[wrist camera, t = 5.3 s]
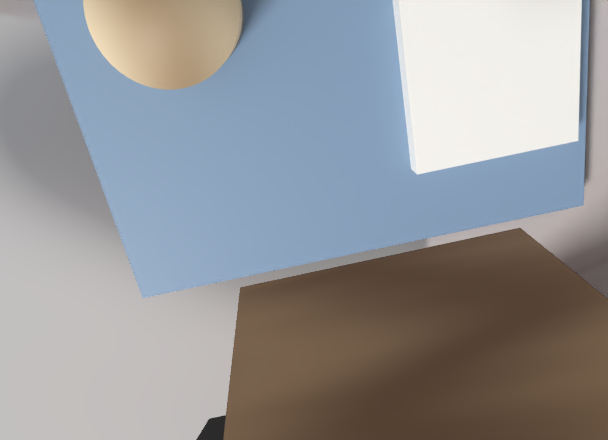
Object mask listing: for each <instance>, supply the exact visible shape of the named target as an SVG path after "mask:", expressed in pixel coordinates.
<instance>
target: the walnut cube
mask: <svg viewBox="0 0 608 440" xmlns="http://www.w3.org/2000/svg"><path fill="white" fill-rule="evenodd" d="M223 440H608V299H607V298H606V297H605V296H604V295H602V294H601V293H600V292H599V291H597V290H596V289H595V288H594V287H592V286H591V285H590V284H589V283H588V282H586V281H585V280H584V279H583V278H581V277H580V276H579V275H578V274H576V273H575V272H574V271H573V270H571V269H570V268H569V267H568V266H567V265H565V264H564V263H563V262H562V261H560V260H559V259H558V258H557V257H555V256H554V255H553V254H552V253H551V252H549V251H548V250H547V249H546V248H544V247H543V246H542V245H541V244H539V243H538V242H537V241H536V240H534V239H533V238H532V237H531V236H530V235H528V234H527V233H526V232H525V231H523V230H522V229H521V228H517V229H512V230H508V231H503V232H498V233H494V234H489V235H484V236H480V237H475V238H470V239H465V240H461V241H456V242H451V243H447V244H442V245H437V246H433V247H428V248H423V249H419V250H414V251H409V252H404V253H400V254H395V255H390V256H386V257H381V258H376V259H372V260H367V261H363V262H358V263H353V264H348V265H344V266H339V267H334V268H330V269H325V270H320V271H315V272H311V273H306V274H301V275H297V276H292V277H287V278H283V279H278V280H273V281H268V282H264V283H259V284H254V285H250V286H246V287H241V288H240V294H239V303H238V312H237V321H236V330H235V340H234V348H233V357H232V366H231V375H230V385H229V394H228V402H227V411H226V420H225V429H224V438H223Z"/></svg>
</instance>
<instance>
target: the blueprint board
mask: <svg viewBox="0 0 608 440" xmlns="http://www.w3.org/2000/svg"><path fill="white" fill-rule="evenodd" d="M33 1H34V3H35V6H36V9H37V12H38V14H39V17H40V20H41V22H42V25H43V28H44V31H45V33H46V36H47V39H48V42H49V44H50V47H51V50H52V52H53V55H54V58H55V61H56V63H57V66H58V69H59V71H60V74H61V77H62V80H63V82H64V85H65V88H66V90H67V93H68V96H69V99H70V101H71V104H72V107H73V110H74V112H75V115H76V118H77V120H78V123H79V126H80V129H81V131H82V134H83V137H84V139H85V142H86V145H87V148H88V150H89V153H90V156H91V158H92V161H93V164H94V167H95V169H96V171H97V175H98V178H99V180H100V183H101V186H102V188H103V191H104V194H105V196H106V199H107V202H108V205H109V207H110V210H111V213H112V215H113V218H114V221H115V224H116V227H117V229H118V232H119V234H120V237H121V240H122V243H123V245H124V248H125V251H126V254H127V256H128V259H129V262H130V264H131V267H132V270H133V273H134V275H135V278H136V281H137V284H138V286H139V289H140V292H141V295H142V297H143V298H146V297H150V296H155V295H160V294H165V293H169V292H174V291H178V290H184V289H188V288H193V287H198V286H202V285H207V284H212V283H217V282H221V281H226V280H231V279H236V278H241V277H245V276H250V275H255V274H259V273H264V272H269V271H274V270H278V269H283V268H287V267H293V266H298V265H302V264H306V263H312V262H317V261H321V260H326V259H331V258H335V257H340V256H345V255H350V254H355V253H359V252H363V251H368V250H373V249H378V248H383V247H388V246H392V245H397V244H402V243H407V242H411V241H416V240H420V239H426V238H430V237H435V236H440V235H445V234H449V233H454V232H459V231H464V230H468V229H473V228H478V227H483V226H487V225H492V224H497V223H502V222H506V221H511V220H516V219H521V218H525V217H530V216H535V215H540V214H544V213H549V212H554V211H559V210H563V209H568V208H573V207H578V206H582V205H583V204H584V172H585V139H586V106H587V74H588V41H589V9H590V0H242V4H243V10H244V23H243V30H242V35H241V38H240V40H239V43H238V45H237V47H236V49H235V50H234V52H233V53H232V54H231V56H230V57H229V58H228V59H227V60H226V61H225V63H224V64H223V65H222V66H221V67H220V68H219V69H218V70H217V71H216V72H215V73H214V74H213V75H211V76H210V77H209V78H207V79H206V80H204V81H202V82H200V83H198V84H196V85H194V86H190V87H187V88H182V89H175V90H164V89H157V88H152V87H148V86H145V85H142V84H140V83H137V82H135V81H133V80H131V79H130V78H128V77H126V76H125V75H123V74H122V73H121V72H119V71H118V70H117V69H116V68H115V67H113V66H112V65H111V64H110V63H109V62H108V60H107V59H106V58H105V57H104V56H103V54H102V53H101V52H100V50H99V49H98V47H97V46H96V44H95V42H94V40H93V38H92V36H91V34H90V31H89V29H88V26H87V22H86V18H85V14H84V7H83V0H33Z"/></svg>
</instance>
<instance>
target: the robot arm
mask: <svg viewBox="0 0 608 440" xmlns="http://www.w3.org/2000/svg"><path fill="white" fill-rule="evenodd" d="M225 420H226V416H220V417H216V418H211V419H209V420H208V422H207V424H206V425H205V427H204V428H203V430H202V432H201V433H200V435H199V437H198V438H197V440H223V438H224V429H225Z"/></svg>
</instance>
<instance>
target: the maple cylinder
mask: <svg viewBox="0 0 608 440" xmlns="http://www.w3.org/2000/svg"><path fill="white" fill-rule="evenodd" d="M83 7H84V14H85V18H86V22H87V26H88V29H89V31H90V34H91V36H92V38H93V40H94V42H95V44H96V46H97V47H98V49H99V50H100V52H101V53H102V54H103V56H104V57H105V58H106V59H107V60H108V62H109V63H110V64H111V65H112V66H113V67H115V68H116V69H117V70H118V71H119V72H121V73H122V74H123V75H125V76H126V77H128V78H130V79H131V80H133V81H135V82H137V83H140V84H142V85H145V86H148V87H152V88H157V89H164V90H175V89H182V88H187V87H190V86H194V85H196V84H198V83H200V82H202V81H204V80H206V79H207V78H209V77H210V76H211V75H213V74H214V73H215V72H216V71H217V70H218V69H219V68H220V67H221V66H222V65H223V64H224V63H225V61H226V60H227V59H228V58H229V57H230V56H231V54H232V53H233V52H234V50H235V49H236V47H237V45H238V43H239V40H240V38H241V35H242V30H243V23H244V10H243V4H242V0H83Z"/></svg>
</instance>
